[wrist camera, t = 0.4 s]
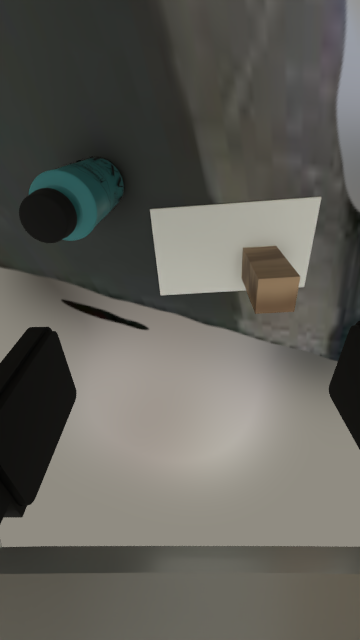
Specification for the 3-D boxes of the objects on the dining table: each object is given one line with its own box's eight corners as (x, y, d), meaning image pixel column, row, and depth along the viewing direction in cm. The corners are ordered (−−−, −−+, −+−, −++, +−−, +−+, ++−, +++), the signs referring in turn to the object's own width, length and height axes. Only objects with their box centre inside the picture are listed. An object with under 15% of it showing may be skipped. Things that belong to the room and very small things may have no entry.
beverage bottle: (124, 211, 41) (85, 267, 25) (77, 200, 40) (4, 251, 24) (129, 161, 38) (87, 187, 21) (78, 148, 37) (-7, 165, 20)
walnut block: (242, 247, 44) (258, 279, 34) (275, 245, 43) (300, 276, 34) (241, 277, 46) (255, 313, 37) (272, 275, 46) (294, 311, 37)
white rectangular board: (150, 208, 41) (149, 209, 41) (320, 196, 40) (321, 197, 39) (160, 294, 49) (160, 295, 48) (303, 285, 48) (304, 286, 47)
